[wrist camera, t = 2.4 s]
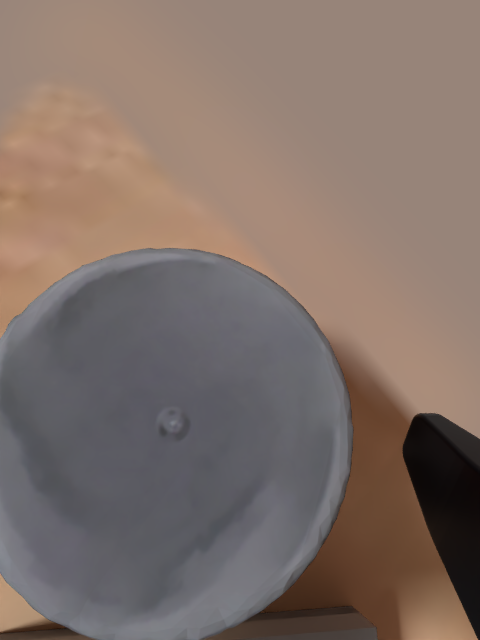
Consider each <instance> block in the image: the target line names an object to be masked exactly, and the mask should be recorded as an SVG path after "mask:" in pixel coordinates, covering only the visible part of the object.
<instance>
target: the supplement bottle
mask: <svg viewBox="0 0 480 640" xmlns="http://www.w3.org/2000/svg"><path fill="white" fill-rule="evenodd" d="M352 451H353V425H352V412H351V404H350V397H349V392H348V389H347V385H346V382H345V378H344V375H343V372H342V370H341V368H340V365H339V363H338V361H337V359H336V356H335V354H334V352H333V350H332V347H331V345H330V343H329V341H328V339H327V338H326V337H325V335H324V334H323V333H322V331H321V330H320V328H319V327H318V325H317V324H316V322H315V320H314V319H313V318H312V317H311V316H310V314H309V313H308V312H307V311H306V309H305V308H304V307H303V306H302V305H301V304H300V303H299V302H298V301H297V300H296V299H295V298H294V297H292V296H291V295H290V294H289V293H288V292H287V291H286V290H285V289H284V288H283V287H281V286H280V285H278V284H277V283H275V282H274V281H273V280H271V279H270V278H269V277H267V276H266V275H264V274H262V273H260V272H258V271H256V270H254V269H252V268H251V267H249V266H246V265H243V264H241V263H239V262H238V261H235V260H233V259H230V258H227V257H225V256H222V255H219V254H214V253H210V252H205V251H200V250H194V249H176V248H165V249H152V248H147V249H140V250H134V251H129V252H125V253H121V254H115V255H112V256H109V257H106V258H104V259H101V260H98V261H96V262H93V263H90V264H86V265H83V266H81V267H80V268H79V269H77V270H75V271H73V272H71V273H69V274H68V275H66V276H65V277H64V278H62V279H61V280H59V281H57V282H55V283H54V284H53V285H52V286H51V287H49V288H48V289H47V290H46V291H45V292H43V293H42V294H41V295H40V296H39V297H37V298H36V299H35V300H34V301H33V302H31V303H30V304H29V305H28V307H27V308H26V309H25V310H24V311H23V312H22V313H21V314H19V315H17V316H15V317H14V318H13V319H12V321H11V322H10V323H9V324H8V327H7V329H6V331H5V333H4V334H3V336H2V337H1V339H0V573H1V575H2V576H3V578H4V579H5V581H6V582H7V583H8V584H9V585H10V586H11V587H12V588H13V589H15V590H16V591H17V592H18V593H19V594H20V595H21V596H22V597H23V598H24V599H25V600H26V601H27V602H28V604H29V605H30V606H31V607H32V608H33V609H34V610H36V611H37V612H39V613H40V614H41V615H43V616H44V617H45V618H47V619H48V620H50V621H53V622H55V623H58V624H60V625H63V626H65V627H67V628H69V629H71V630H73V631H75V632H76V633H79V634H82V635H84V636H87V637H89V638H93V639H96V640H202V639H205V638H208V637H211V636H214V635H217V634H220V633H221V632H223V631H224V630H225V629H227V628H233V627H235V626H237V625H239V624H240V623H242V622H244V621H245V620H247V619H249V618H250V617H252V616H254V615H255V614H257V613H259V612H261V611H262V610H264V609H265V608H266V607H267V606H268V605H269V604H271V603H272V602H273V601H275V600H276V599H278V598H279V597H280V596H281V595H282V594H283V593H284V592H286V591H287V590H288V589H289V588H290V587H291V586H292V585H293V584H294V583H295V582H296V580H297V579H298V578H299V577H300V576H301V574H302V573H303V572H304V571H305V570H306V568H307V567H308V566H309V565H310V563H311V562H312V561H313V560H314V558H315V557H316V555H317V553H318V551H319V549H320V548H321V546H322V545H323V543H324V542H325V540H326V538H327V537H328V535H329V533H330V531H331V529H332V526H333V524H334V522H335V521H336V519H337V516H338V512H339V509H340V506H341V503H342V501H343V499H344V497H345V492H346V486H347V483H348V480H349V476H350V470H351V457H352Z"/></svg>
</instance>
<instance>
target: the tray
mask: <svg viewBox="0 0 480 640" xmlns="http://www.w3.org/2000/svg"><path fill="white" fill-rule="evenodd" d="M0 640H96V639H93V638H89V637H87V636H84V635H82V634H79V633H76V632H75V631H73V630H71V629H69V628H66V629H53V630H40V631H28V632H15V633H2V634H0ZM202 640H378V639H377V628H376V626H374V625H373V624H372V623H371V622H370V621H369V620H367V619H366V618H365V617H364V616H363V615H362V614H361V613H359V612H358V611H357V610H356V609H355V608H354V607H353V606H346V607H334V608H321V609H308V610H295V611H283V612H270V613H257V614H255V615H254V616H252V617H250V618H249V619H247V620H245V621H244V622H242V623H240V624H239V625H237V626H235V627H233V628H227V629H225V630H224V631H223V632H221V633H220V634H217V635H214V636H211V637H208V638H205V639H202Z"/></svg>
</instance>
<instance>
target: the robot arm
mask: <svg viewBox="0 0 480 640" xmlns="http://www.w3.org/2000/svg"><path fill="white" fill-rule="evenodd" d="M403 457H404V461H405V464H406V467H407V470H408V472H409V475H410V478H411V481H412V484H413V487H414V490H415V493H416V496H417V498H418V501H419V504H420V507H421V510H422V513H423V516H424V519H425V522H426V524H427V527H428V529H429V532H430V535H431V537H432V539H433V542H434V544H435V546H436V549H437V551H438V553H439V555H440V557H441V560H442V562H443V564H444V566H445V568H446V571H447V573H448V575H449V577H450V579H451V581H452V584H453V586H454V588H455V590H456V592H457V595H458V597H459V599H460V601H461V603H462V605H463V608H464V610H465V612H466V614H467V616H468V619H469V621H470V623H471V625H472V627H473V629H474V632H475V634H476V636H477V638H478V640H480V439H479V438H477V437H476V436H474V435H472V434H471V433H469V432H467V431H466V430H464V429H463V428H461V427H459V426H458V425H456V424H454V423H453V422H451V421H449V420H448V419H446V418H445V417H443V416H441V415H439V414H435V413H428V414H427V413H420V414H417V415H415V417H414V418H413V420H412V422H411V425H410V428H409V430H408V433H407V436H406V438H405V441H404V444H403Z"/></svg>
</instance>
